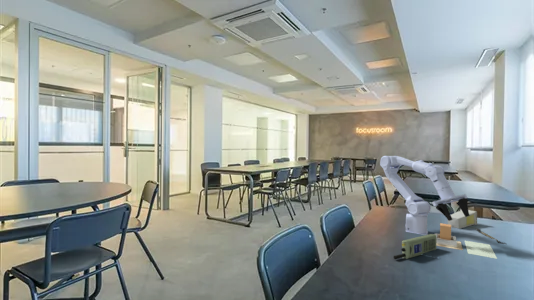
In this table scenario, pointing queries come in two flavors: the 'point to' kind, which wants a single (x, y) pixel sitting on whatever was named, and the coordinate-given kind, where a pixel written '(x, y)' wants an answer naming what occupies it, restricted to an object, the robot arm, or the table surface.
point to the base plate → (453, 247)
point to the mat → (480, 249)
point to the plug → (445, 231)
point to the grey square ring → (446, 241)
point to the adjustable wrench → (488, 236)
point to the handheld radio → (417, 246)
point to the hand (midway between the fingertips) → (459, 218)
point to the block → (463, 219)
